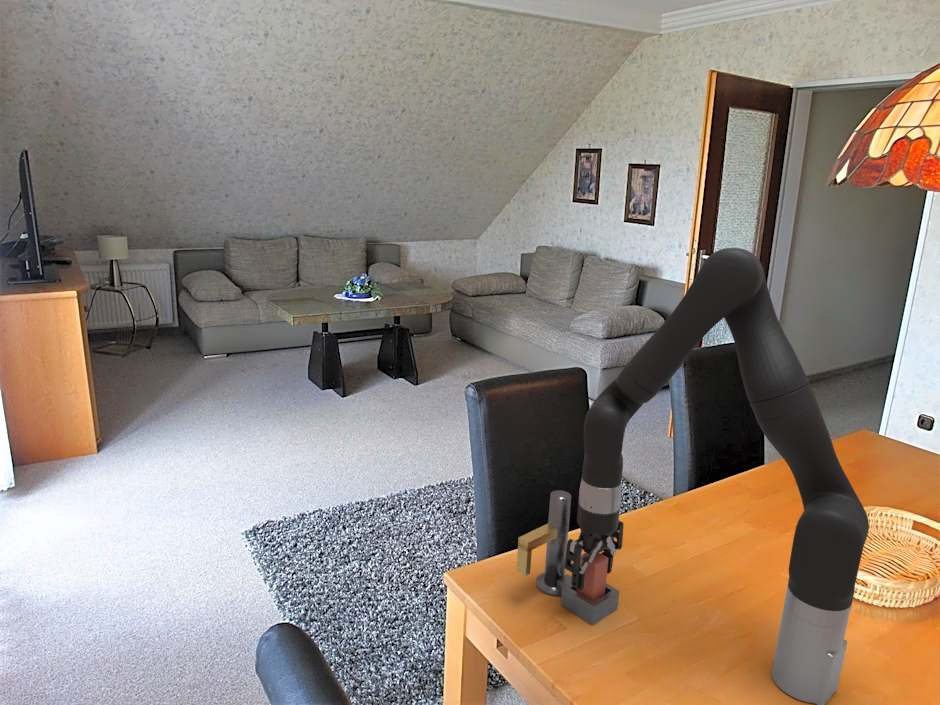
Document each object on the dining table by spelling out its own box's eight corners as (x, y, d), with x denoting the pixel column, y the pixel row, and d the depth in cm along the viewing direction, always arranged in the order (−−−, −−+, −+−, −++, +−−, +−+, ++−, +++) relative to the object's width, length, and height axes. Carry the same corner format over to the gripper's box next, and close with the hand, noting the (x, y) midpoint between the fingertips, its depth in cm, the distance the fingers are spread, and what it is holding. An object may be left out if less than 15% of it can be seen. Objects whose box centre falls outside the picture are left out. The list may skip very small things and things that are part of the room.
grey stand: (617, 609, 129) (627, 515, 124) (570, 640, 120) (579, 540, 115) (552, 570, 140) (559, 483, 135) (506, 596, 131) (511, 503, 126)
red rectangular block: (603, 608, 129) (608, 557, 126) (590, 616, 127) (595, 565, 124) (587, 598, 132) (592, 548, 129) (575, 606, 129) (579, 555, 126)
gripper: (591, 522, 116) (583, 604, 120) (639, 498, 125) (630, 574, 129) (558, 506, 121) (551, 584, 126) (606, 483, 130) (599, 557, 135)
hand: (591, 579), depth 127 cm, fingers open, 8 cm apart
